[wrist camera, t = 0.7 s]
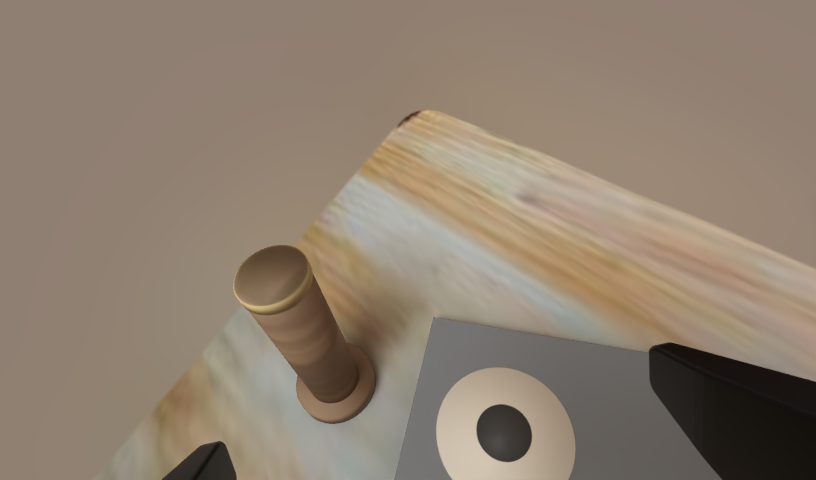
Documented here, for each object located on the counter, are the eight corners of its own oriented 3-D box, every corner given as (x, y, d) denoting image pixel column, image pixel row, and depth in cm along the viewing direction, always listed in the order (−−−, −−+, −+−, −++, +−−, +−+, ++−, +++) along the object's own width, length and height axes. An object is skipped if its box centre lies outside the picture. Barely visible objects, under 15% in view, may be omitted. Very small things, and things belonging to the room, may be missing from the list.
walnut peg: (361, 431, 23) (299, 334, 15) (288, 414, 24) (191, 314, 16) (384, 356, 26) (343, 238, 18) (318, 343, 27) (248, 226, 19)
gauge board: (904, 708, 15) (937, 717, 14) (383, 545, 20) (378, 542, 19) (795, 388, 22) (811, 378, 21) (434, 326, 27) (433, 315, 26)
